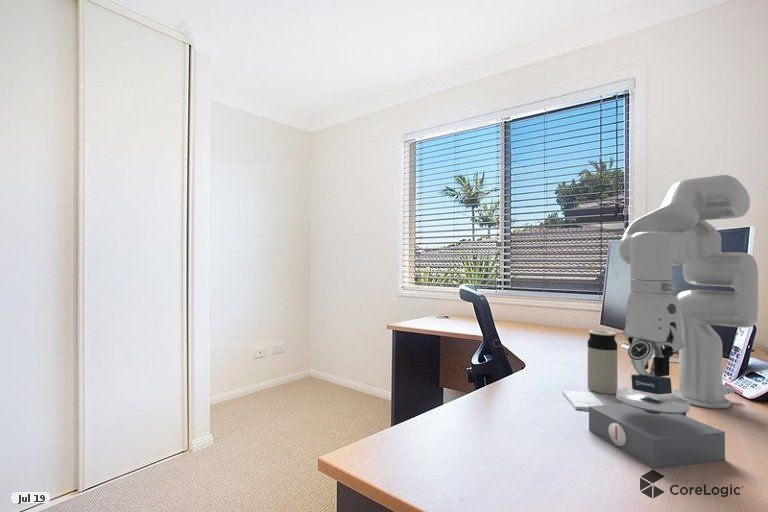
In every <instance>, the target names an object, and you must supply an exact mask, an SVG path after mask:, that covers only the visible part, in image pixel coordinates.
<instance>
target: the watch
mask: <svg viewBox="0 0 768 512" xmlns="http://www.w3.org/2000/svg"><path fill="white" fill-rule="evenodd" d="M662 347H663V349H664V345H662ZM627 353H628V354H627V355H628V357H629V359H630V363H631V364H632V366H633V368H634V370H635V371H636V372H637V373H636V374H634V373H633V374H631V375H630V376H631V388H632V389H633V390H638V391H643V392H648V393H653V394H658V395H659V394H673V389H672V381H671V380H672V379H671V377H669V376H655V374H654V358H655V357H658V356H657V353H656V347H655V342H651V341H647V340H643V339H640V340H637V341H635V342H634V343H632V344H630V345H629V347H628V350H627ZM651 359H652V364H651V365H650V372H648V371H647V369H645V366H646V365H647V363H648V364H649V361H650V360H651ZM644 365H645V366H644Z"/></svg>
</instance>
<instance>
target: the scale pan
mask: <svg viewBox="0 0 768 512" xmlns="http://www.w3.org/2000/svg"><path fill="white" fill-rule="evenodd" d="M615 394H616V395H615V396H616V399H617V400H618V401H620V402H621V403H622V404H624V403H625V404H627V405H629V406H632V407H635V408H638V409H642V410H643V411H645V412H647V413H651V414H660V413H665V414H683V413H686V414H688V412H690V410H691V404H689V402H688V401H686V400H685V399H683V398H681V397H678V396H676V395H673V393H669V394H659V395H658V394H653V393H648V392H643V391H638V390H633V389H632V387H623V388H619V389H617V391H616V393H615Z"/></svg>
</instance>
